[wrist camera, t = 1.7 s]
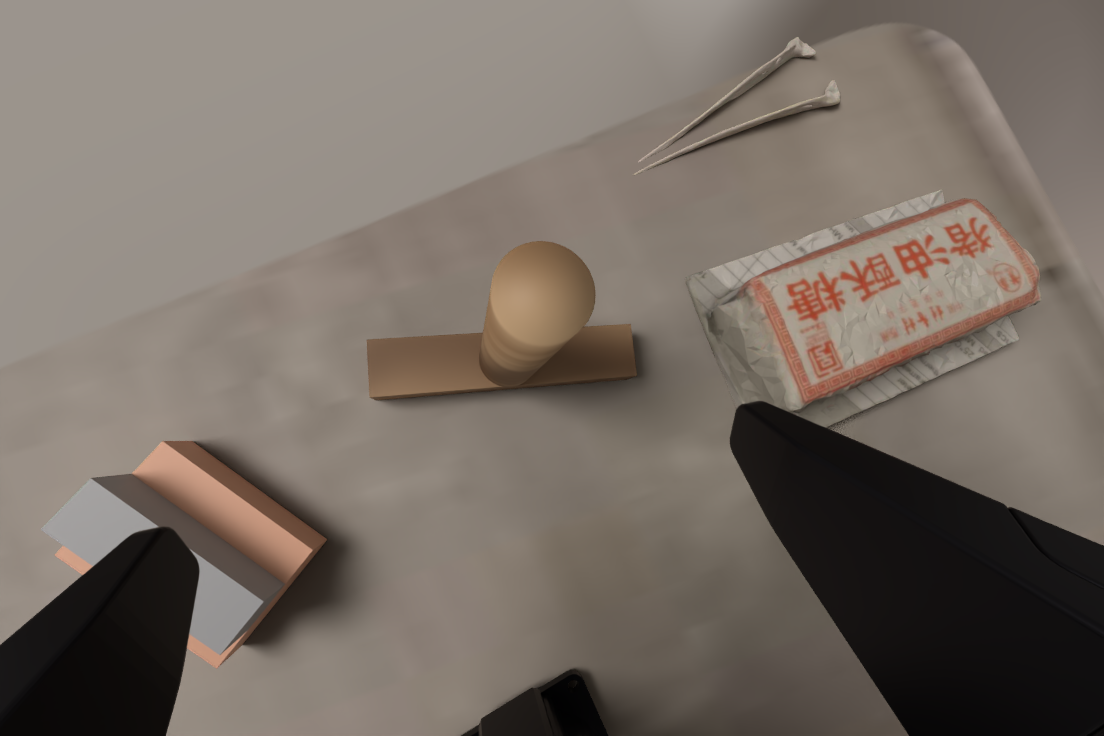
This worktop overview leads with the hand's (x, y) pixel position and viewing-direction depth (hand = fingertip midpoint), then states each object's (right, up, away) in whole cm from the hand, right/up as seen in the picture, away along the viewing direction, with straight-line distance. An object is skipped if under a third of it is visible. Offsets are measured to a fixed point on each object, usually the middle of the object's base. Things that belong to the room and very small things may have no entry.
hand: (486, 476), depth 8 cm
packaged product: (+18, +5, +20) cm, 27 cm away
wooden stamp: (-1, +2, +15) cm, 15 cm away
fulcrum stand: (-13, -5, +12) cm, 18 cm away
